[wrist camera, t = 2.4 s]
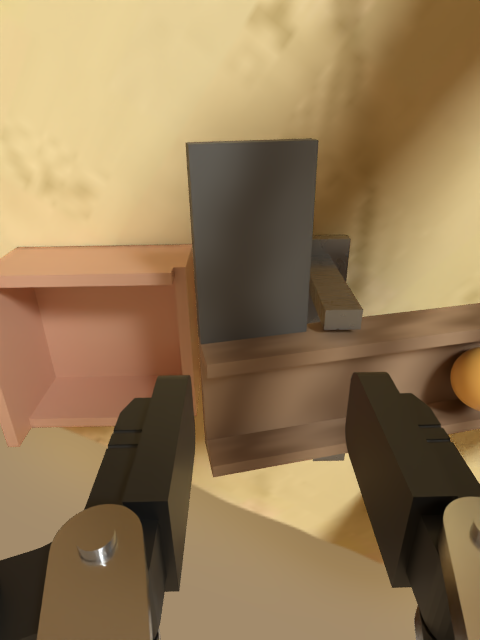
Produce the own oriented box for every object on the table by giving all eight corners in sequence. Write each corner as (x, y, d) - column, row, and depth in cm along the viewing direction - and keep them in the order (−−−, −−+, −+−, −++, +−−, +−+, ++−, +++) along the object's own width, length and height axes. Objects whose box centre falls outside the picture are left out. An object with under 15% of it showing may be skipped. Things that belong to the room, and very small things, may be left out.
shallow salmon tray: (17, 247, 32) (-45, 288, 25) (192, 244, 32) (180, 284, 25) (51, 381, 38) (8, 446, 30) (200, 378, 38) (193, 443, 30)
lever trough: (554, 130, 23) (609, 133, 21) (478, 395, 31) (511, 422, 29) (185, 142, 20) (194, 148, 17) (204, 440, 28) (213, 477, 25)
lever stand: (347, 235, 32) (394, 290, 23) (332, 380, 38) (365, 472, 29) (279, 236, 32) (298, 291, 23) (275, 381, 38) (289, 473, 29)
